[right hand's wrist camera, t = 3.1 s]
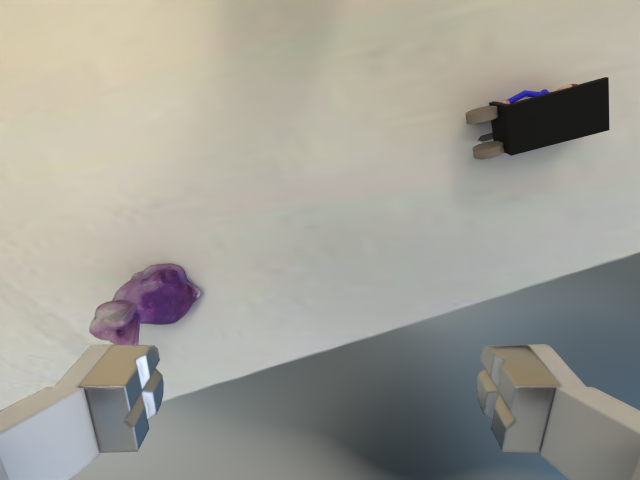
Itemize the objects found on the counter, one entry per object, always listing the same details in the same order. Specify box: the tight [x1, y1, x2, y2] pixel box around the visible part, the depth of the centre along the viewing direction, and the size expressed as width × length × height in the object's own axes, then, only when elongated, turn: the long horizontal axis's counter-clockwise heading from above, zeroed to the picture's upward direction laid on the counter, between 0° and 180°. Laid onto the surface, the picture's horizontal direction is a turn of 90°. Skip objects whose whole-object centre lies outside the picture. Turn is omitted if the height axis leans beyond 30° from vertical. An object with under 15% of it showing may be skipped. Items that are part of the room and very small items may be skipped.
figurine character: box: [466, 77, 609, 159], centre depth 51 cm, size 7×8×15 cm
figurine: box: [89, 264, 201, 345], centre depth 56 cm, size 9×10×15 cm
